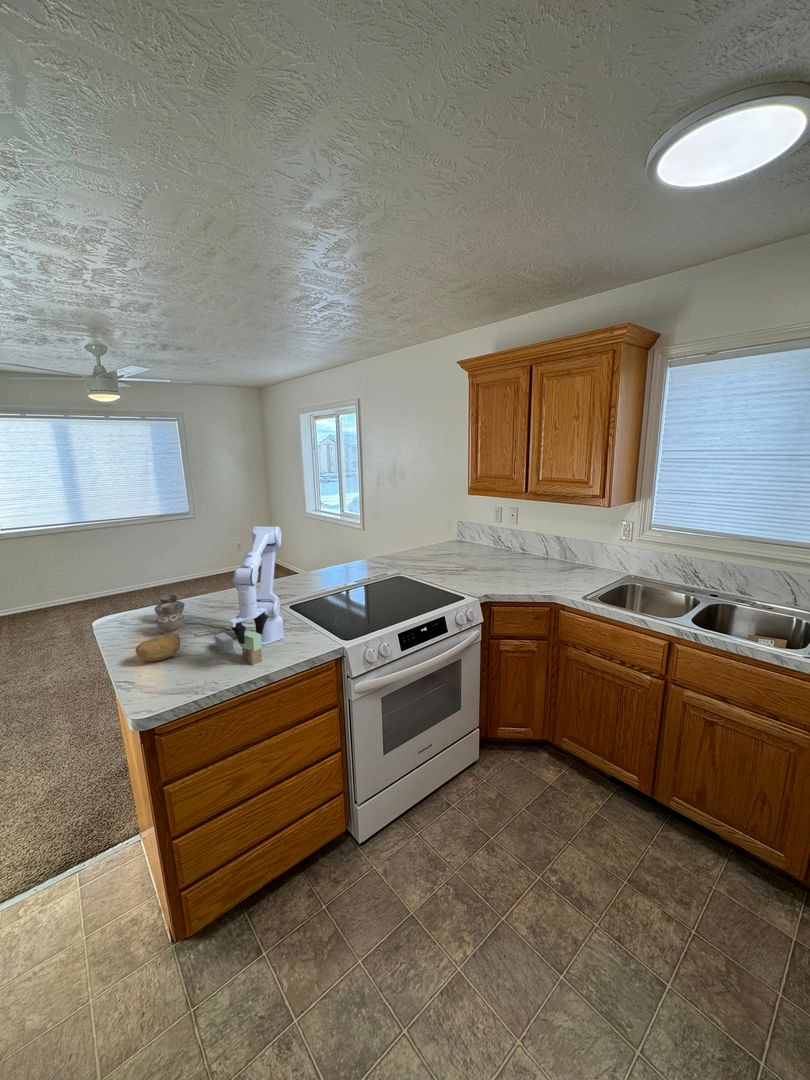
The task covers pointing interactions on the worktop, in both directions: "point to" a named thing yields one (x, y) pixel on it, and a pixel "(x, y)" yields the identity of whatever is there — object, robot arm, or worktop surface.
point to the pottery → (169, 614)
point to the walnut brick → (252, 656)
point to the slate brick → (224, 643)
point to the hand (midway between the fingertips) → (250, 639)
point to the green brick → (252, 641)
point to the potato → (158, 647)
